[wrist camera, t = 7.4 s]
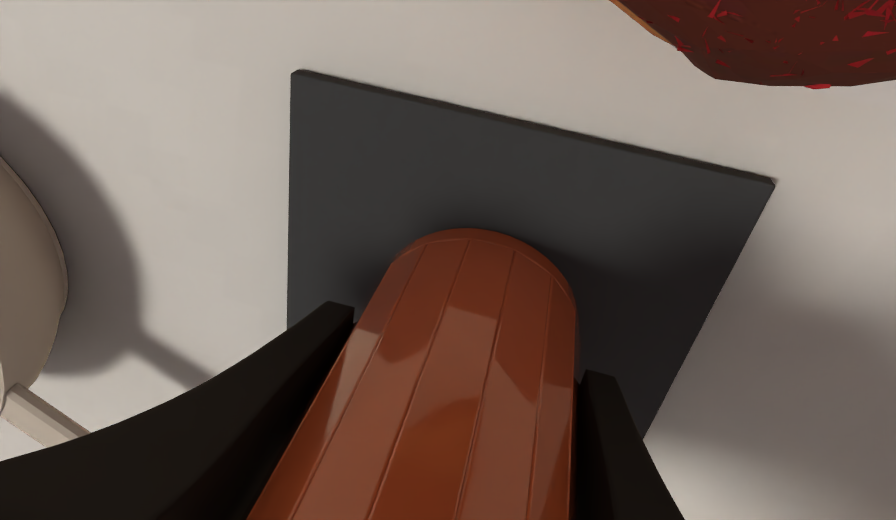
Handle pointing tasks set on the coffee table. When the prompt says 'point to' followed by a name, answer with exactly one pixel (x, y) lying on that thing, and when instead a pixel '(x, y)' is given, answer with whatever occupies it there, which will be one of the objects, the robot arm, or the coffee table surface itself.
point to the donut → (778, 38)
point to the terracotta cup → (443, 395)
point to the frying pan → (29, 311)
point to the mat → (516, 217)
